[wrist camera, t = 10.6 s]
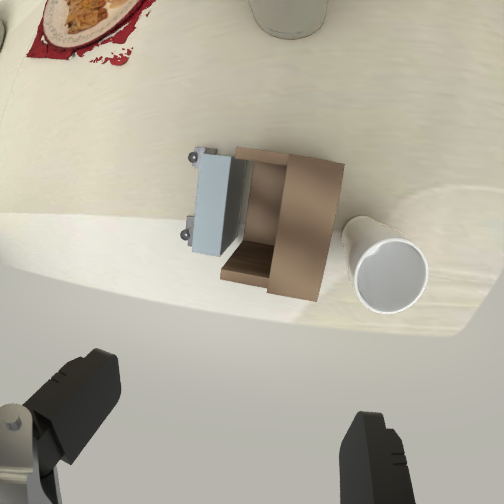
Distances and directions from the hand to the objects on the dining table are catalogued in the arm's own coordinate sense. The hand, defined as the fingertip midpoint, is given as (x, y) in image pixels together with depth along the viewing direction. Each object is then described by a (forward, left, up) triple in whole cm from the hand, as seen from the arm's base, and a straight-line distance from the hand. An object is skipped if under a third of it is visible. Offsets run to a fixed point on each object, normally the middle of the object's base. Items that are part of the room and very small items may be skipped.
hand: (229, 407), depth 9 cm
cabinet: (-2, 0, -31) cm, 31 cm away
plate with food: (-35, -34, -32) cm, 59 cm away
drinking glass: (0, +10, -32) cm, 33 cm away
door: (-2, -7, -31) cm, 32 cm away
